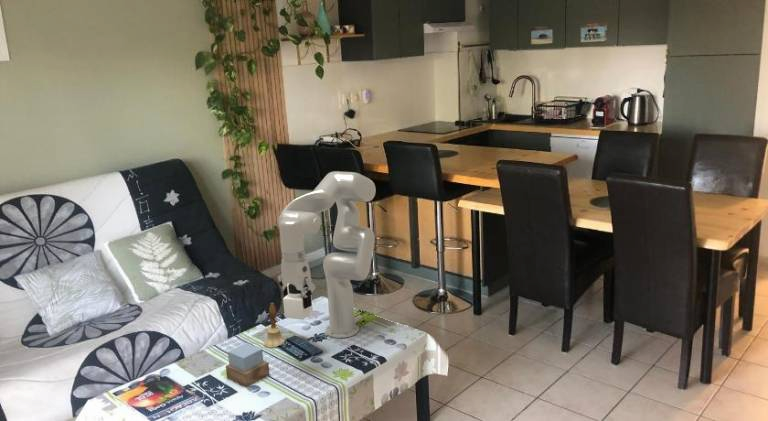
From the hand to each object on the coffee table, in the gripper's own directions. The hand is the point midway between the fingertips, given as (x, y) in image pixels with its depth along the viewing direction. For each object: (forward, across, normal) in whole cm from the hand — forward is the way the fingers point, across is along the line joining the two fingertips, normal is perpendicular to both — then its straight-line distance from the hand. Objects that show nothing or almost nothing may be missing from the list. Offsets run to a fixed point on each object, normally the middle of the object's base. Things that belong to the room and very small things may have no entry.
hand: (297, 303), depth 219 cm
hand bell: (+24, +23, -7) cm, 34 cm away
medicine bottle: (+4, 0, 0) cm, 4 cm away
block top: (+19, +11, +15) cm, 27 cm away
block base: (+24, +11, +15) cm, 30 cm away
